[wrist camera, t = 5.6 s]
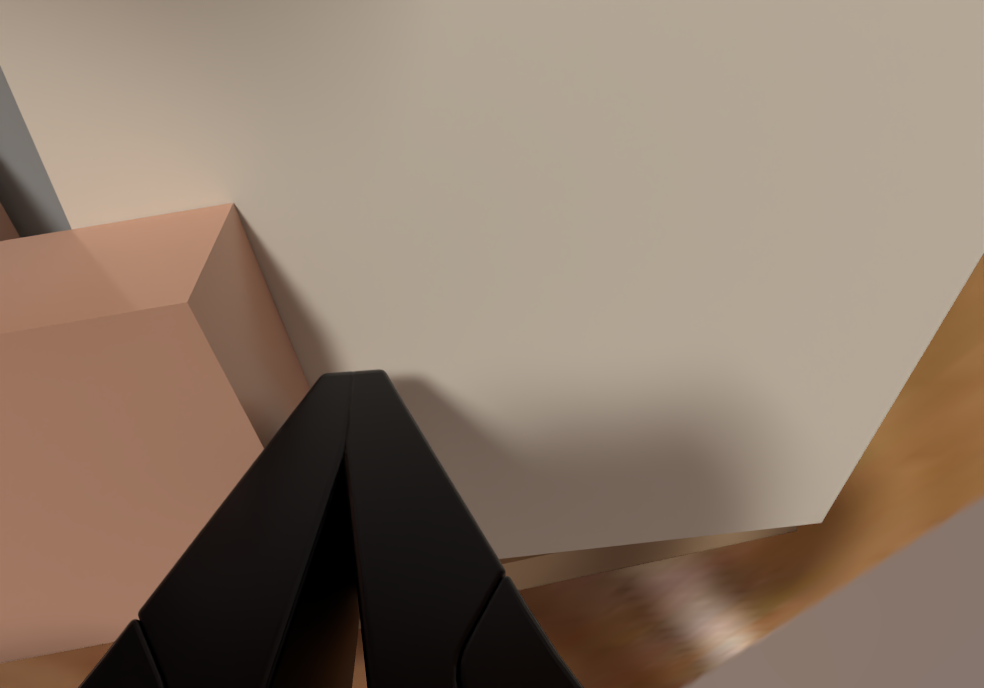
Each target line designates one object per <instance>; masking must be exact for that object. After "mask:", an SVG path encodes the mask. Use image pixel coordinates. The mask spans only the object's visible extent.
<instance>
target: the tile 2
mask: <svg viewBox="0 0 984 688" xmlns="http://www.w3.org/2000/svg"><path fill="white" fill-rule="evenodd" d="M309 390H310V387H309V384H308V382H307V379H306V377H305V375H304V372H303V370H302V367H301V365H300V363H299V360H298V358H297V355H296V353H295V350H294V348H293V346H292V343H291V341H290V338H289V336H288V334H287V331H286V329H285V326H284V324H283V321H282V319H281V317H280V314H279V312H278V309H277V307H276V305H275V302H274V300H273V297H272V295H271V292H270V290H269V288H268V285H267V283H266V280H265V278H264V276H263V273H262V271H261V268H260V266H259V264H258V261H257V259H256V256H255V254H254V251H253V249H252V247H251V244H250V242H249V239H248V237H247V235H246V232H245V230H244V227H243V225H242V222H241V220H240V218H239V215H238V213H237V210H236V208H235V206H234V203H229V204H223V205H217V206H211V207H205V208H199V209H193V210H187V211H180V212H174V213H168V214H162V215H156V216H150V217H144V218H138V219H132V220H126V221H120V222H114V223H108V224H102V225H95V226H89V227H83V228H77V229H71V230H65V231H59V232H53V233H47V234H41V235H35V236H29V237H23V238H17V239H10V240H4V241H0V663H4V662H10V661H15V660H20V659H25V658H31V657H36V656H41V655H46V654H52V653H57V652H62V651H68V650H73V649H78V648H83V647H89V646H94V645H99V644H104V643H110V642H115V641H116V639H117V638H118V637H119V635H120V634H121V633H122V632H123V630H124V629H125V628H126V626H127V625H128V624H129V622H130V621H131V620H133V619H138V620H139V617H138V612H139V610H140V609H141V607H142V606H143V605H144V604H145V602H146V601H147V600H148V598H149V597H150V596H151V595H152V593H153V592H154V591H155V589H156V588H157V587H158V585H159V584H160V583H161V582H162V580H163V579H164V578H165V576H166V575H167V574H168V573H169V571H170V570H171V569H172V567H173V566H174V565H175V563H176V562H177V561H178V560H179V558H180V557H181V556H182V554H183V553H184V552H185V551H186V549H187V548H188V547H189V545H190V544H191V543H192V541H193V540H194V539H195V538H196V536H197V535H198V534H199V532H200V531H201V530H202V528H203V527H204V526H205V525H206V523H207V522H208V521H209V519H210V518H211V517H212V516H213V514H214V513H215V512H216V510H217V509H218V508H219V506H220V505H221V504H222V503H223V501H224V500H225V499H226V497H227V496H228V495H229V494H230V492H231V491H232V490H233V488H234V487H235V486H236V484H237V483H238V482H239V481H240V479H241V478H242V477H243V475H244V474H245V473H246V472H247V470H248V469H249V468H250V466H251V465H252V464H253V462H254V461H255V460H256V459H257V457H258V456H259V455H260V453H261V452H262V451H263V450H264V448H265V447H266V446H267V444H268V443H269V442H270V440H271V439H272V438H273V437H274V435H275V434H276V433H277V431H278V430H279V429H280V428H281V426H282V425H283V424H284V422H285V421H286V420H287V418H288V417H289V416H290V415H291V413H292V412H293V411H294V409H295V408H296V407H297V406H298V404H299V403H300V402H301V400H302V399H303V398H304V396H305V395H306V394H307V393H308V391H309ZM139 621H140V620H139Z"/></svg>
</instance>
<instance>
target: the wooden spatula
mask: <svg viewBox="0 0 984 688" xmlns="http://www.w3.org/2000/svg"><path fill="white" fill-rule="evenodd" d="M797 527H798V526H790V527H781V528H772V529H763V530H754V531H745V532H736V533H727V534H718V535H709V536H700V537H691V538H682V539H673V540H664V541H655V542H646V543H637V544H629V545H620V546H611V547H602V548H593V549H584V550H575V551H566V552H557V553H548V554H539V555H530V556H521V557H512V558H503V559H499V560H500V562H501V563H502V565H503V567H504V568H505V571H506V576H509V577H510V578H511V579H512V581H513V583H514V584H515V586H516V588H517V589H518V590H523V589H527V588H532V587H537V586H541V585H546V584H551V583H555V582H560V581H565V580H570V579H574V578H579V577H584V576H588V575H593V574H598V573H602V572H607V571H612V570H616V569H621V568H626V567H630V566H635V565H640V564H644V563H649V562H654V561H658V560H663V559H668V558H672V557H677V556H682V555H686V554H691V553H696V552H700V551H705V550H710V549H715V548H719V547H724V546H729V545H733V544H738V543H743V542H747V541H752V540H757V539H761V538H766V537H771V536H775V535H780V534H785V533H789V532H794V531H796V530H797ZM358 629H361V624H360V619H359V628H358Z"/></svg>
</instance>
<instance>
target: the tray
mask: <svg viewBox="0 0 984 688" xmlns="http://www.w3.org/2000/svg"><path fill="white" fill-rule="evenodd" d="M0 202H1V204H2V206H3V208H4V210H5V211H6V213H7V215H8V217H9V218H10V220H11V222H12V224H13V225H14V227H15V229H16V231H17V233H18V234H19V236H20V238H23V237H29V236H35V235H41V234H47V233H53V232H59V231H65V230H71V226H70V224H69V222H68V220H67V217H66V215H65V213H64V210H63V208H62V206H61V204H60V201H59V199H58V197H57V194H56V192H55V190H54V187H53V185H52V183H51V181H50V178H49V176H48V174H47V171H46V169H45V167H44V165H43V162H42V160H41V158H40V155H39V153H38V151H37V149H36V146H35V144H34V142H33V139H32V137H31V135H30V133H29V130H28V128H27V126H26V123H25V121H24V119H23V117H22V114H21V112H20V110H19V107H18V105H17V103H16V101H15V98H14V96H13V94H12V91H11V89H10V87H9V85H8V82H7V80H6V78H5V75H4V73H3V71H2V68H1V66H0Z"/></svg>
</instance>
